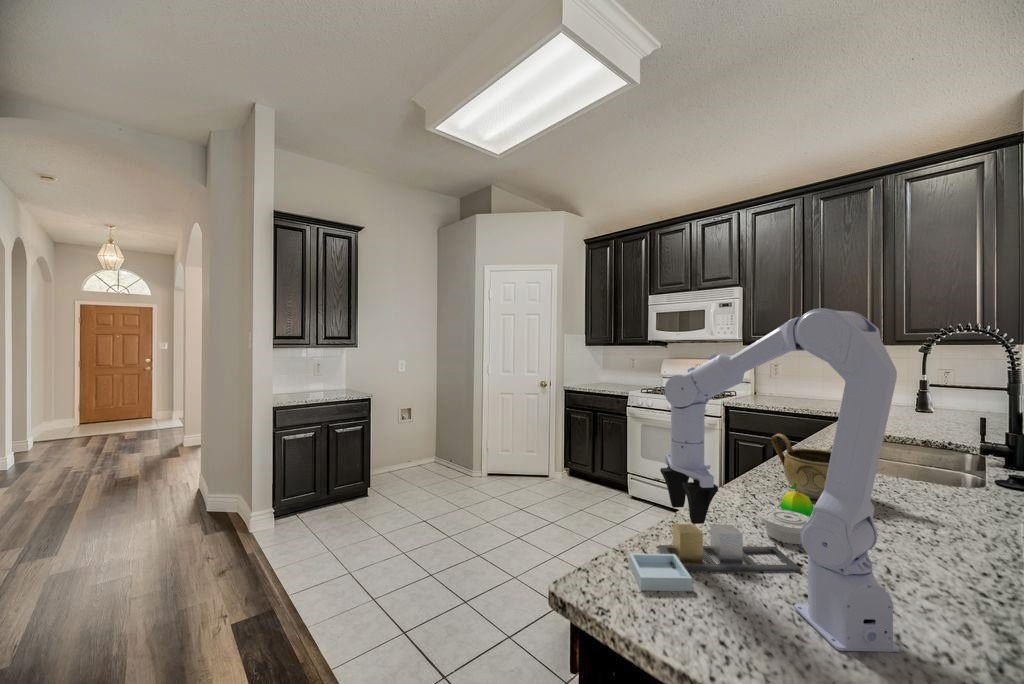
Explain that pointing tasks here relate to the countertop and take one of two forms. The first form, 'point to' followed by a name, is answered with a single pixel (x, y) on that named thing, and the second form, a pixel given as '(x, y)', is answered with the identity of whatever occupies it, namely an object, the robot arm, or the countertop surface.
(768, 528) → the mechanical component
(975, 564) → the countertop surface
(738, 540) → the grey block
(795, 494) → the apple
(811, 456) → the ceramic bowl
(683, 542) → the tan wooden post
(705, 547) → the rail
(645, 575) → the parts tray
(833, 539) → the robot arm
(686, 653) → the countertop surface
